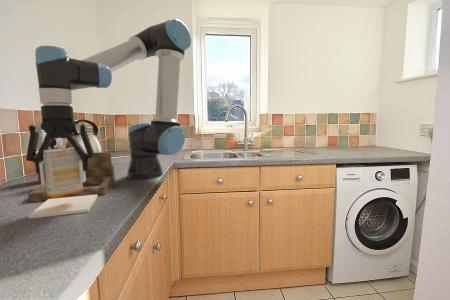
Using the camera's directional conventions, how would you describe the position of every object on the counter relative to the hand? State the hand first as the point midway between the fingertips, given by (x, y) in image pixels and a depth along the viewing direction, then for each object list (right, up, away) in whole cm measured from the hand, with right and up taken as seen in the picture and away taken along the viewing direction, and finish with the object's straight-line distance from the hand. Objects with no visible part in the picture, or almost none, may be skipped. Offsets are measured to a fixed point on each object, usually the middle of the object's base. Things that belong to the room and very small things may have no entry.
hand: (64, 183), depth 73 cm
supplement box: (0, -3, 0) cm, 3 cm away
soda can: (-27, -3, +32) cm, 42 cm away
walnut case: (-7, -5, +19) cm, 21 cm away
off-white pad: (0, -7, +1) cm, 7 cm away
